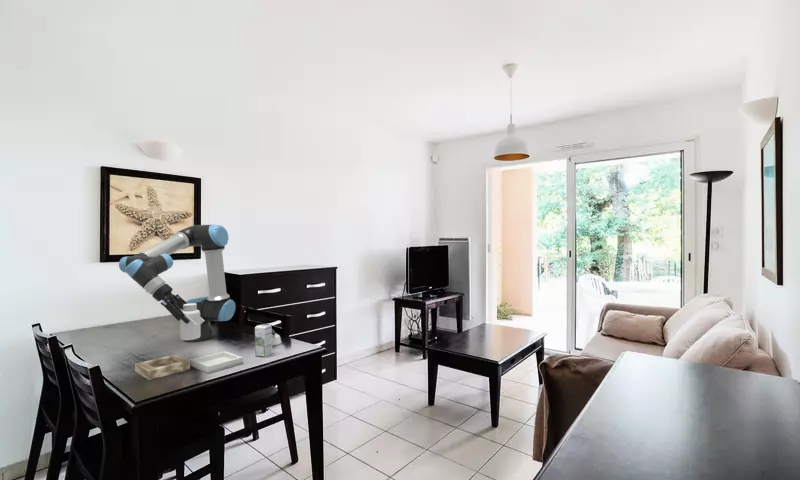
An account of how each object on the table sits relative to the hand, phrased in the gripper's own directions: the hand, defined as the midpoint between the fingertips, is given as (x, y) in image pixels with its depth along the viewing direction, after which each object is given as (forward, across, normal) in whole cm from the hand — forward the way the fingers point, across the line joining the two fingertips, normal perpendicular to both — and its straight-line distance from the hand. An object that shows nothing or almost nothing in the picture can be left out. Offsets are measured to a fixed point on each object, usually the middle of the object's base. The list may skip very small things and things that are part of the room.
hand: (198, 325), depth 174 cm
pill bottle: (+2, 0, -7) cm, 7 cm away
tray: (+18, -3, -9) cm, 20 cm away
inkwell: (+32, -31, +5) cm, 45 cm away
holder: (+3, 0, -24) cm, 24 cm away
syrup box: (+31, -14, +4) cm, 34 cm away
